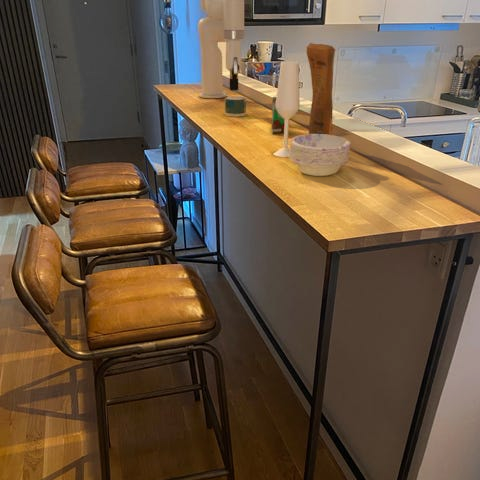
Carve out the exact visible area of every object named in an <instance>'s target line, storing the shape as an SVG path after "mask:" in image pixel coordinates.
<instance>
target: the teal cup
mask: <svg viewBox="0 0 480 480" xmlns="http://www.w3.org/2000/svg"><path fill="white" fill-rule="evenodd" d="M246 115H247V98H246V97H245V96H238V95H237V96H236V95H235V96H226V97H224V116H226V117H234V118H235V117H238V118H239V117H245V116H246Z"/></svg>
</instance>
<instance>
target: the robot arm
mask: <svg viewBox="0 0 480 480" xmlns="http://www.w3.org/2000/svg"><path fill="white" fill-rule="evenodd" d="M199 3H200V8H201V11H203V12H204V13H206V14H207V16H205V17H202V18H201V19H200V20H199V21H198V23H197V34H198V40H199V47H200V68H201V71H200V72H201V92H200V93H198V97H199V98H202V99H222V98H223V99H224V98H226V97H227V93H226V92H223V90H224V88H223V52H222V50H221V48H220V47H219V46H218V44H217V43H225V69H226V70H227V71H229V90H230V91H238V90H239V71H241V69H242V41H245V0H199Z"/></svg>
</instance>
